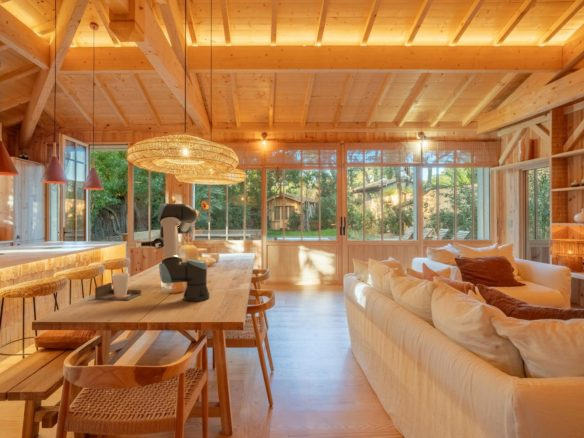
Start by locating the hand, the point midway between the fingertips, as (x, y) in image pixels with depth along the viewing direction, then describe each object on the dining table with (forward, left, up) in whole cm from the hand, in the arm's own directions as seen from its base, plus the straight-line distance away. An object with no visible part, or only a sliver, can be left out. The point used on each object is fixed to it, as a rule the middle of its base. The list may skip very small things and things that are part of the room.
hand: (145, 245), depth 217 cm
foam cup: (+6, +18, -29) cm, 35 cm away
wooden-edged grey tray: (+7, +18, -30) cm, 36 cm away
